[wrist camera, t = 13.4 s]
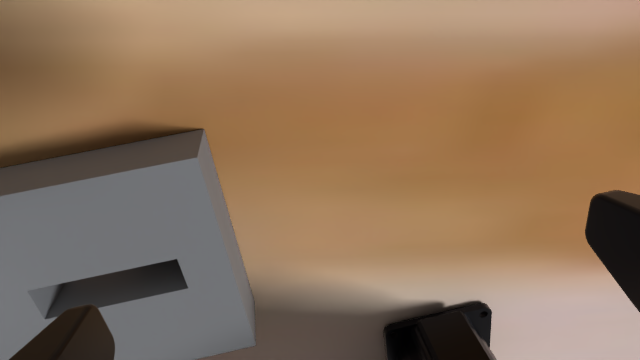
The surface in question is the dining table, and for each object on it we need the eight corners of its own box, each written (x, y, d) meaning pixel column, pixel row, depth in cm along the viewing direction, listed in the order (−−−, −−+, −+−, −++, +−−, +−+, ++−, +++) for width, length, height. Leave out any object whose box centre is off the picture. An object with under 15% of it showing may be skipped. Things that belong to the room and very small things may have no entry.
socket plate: (254, 301, 23) (256, 345, 21) (-138, 388, 22) (-190, 448, 19) (203, 128, 18) (197, 157, 16) (-301, 226, 17) (-400, 274, 14)
